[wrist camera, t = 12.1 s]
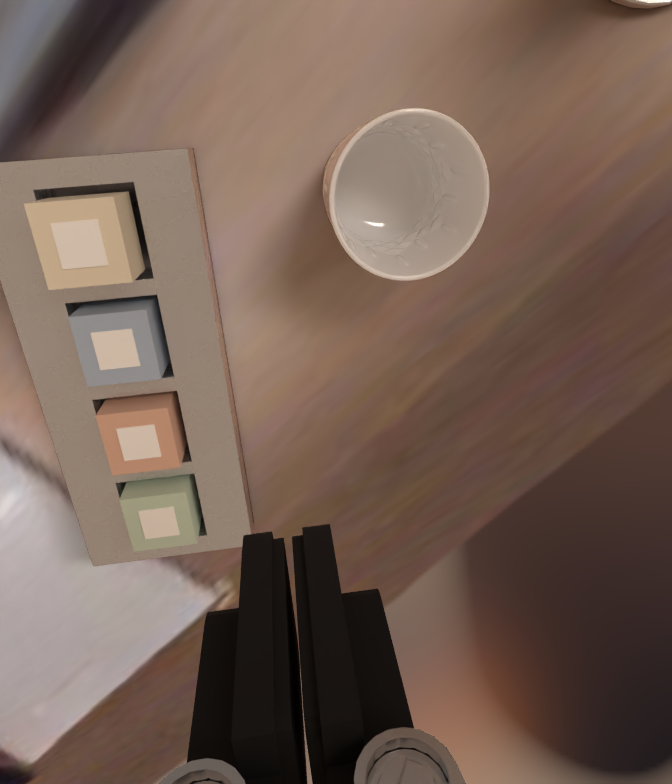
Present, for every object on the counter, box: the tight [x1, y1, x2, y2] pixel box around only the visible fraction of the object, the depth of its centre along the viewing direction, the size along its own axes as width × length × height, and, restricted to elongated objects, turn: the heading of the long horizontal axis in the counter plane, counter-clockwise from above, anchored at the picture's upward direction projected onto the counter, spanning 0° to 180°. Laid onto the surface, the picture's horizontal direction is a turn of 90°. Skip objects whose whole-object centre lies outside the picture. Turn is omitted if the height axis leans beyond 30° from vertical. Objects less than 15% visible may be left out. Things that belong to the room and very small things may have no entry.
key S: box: [24, 191, 145, 290], centre depth 31 cm, size 4×4×4 cm
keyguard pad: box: [0, 148, 254, 566], centre depth 37 cm, size 12×28×3 cm, turn 4°
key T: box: [68, 295, 170, 387], centre depth 35 cm, size 4×4×4 cm
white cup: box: [322, 108, 490, 281], centre depth 31 cm, size 8×8×10 cm
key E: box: [119, 474, 202, 552], centre depth 40 cm, size 4×4×4 cm
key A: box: [96, 391, 187, 476], centre depth 38 cm, size 4×4×4 cm
